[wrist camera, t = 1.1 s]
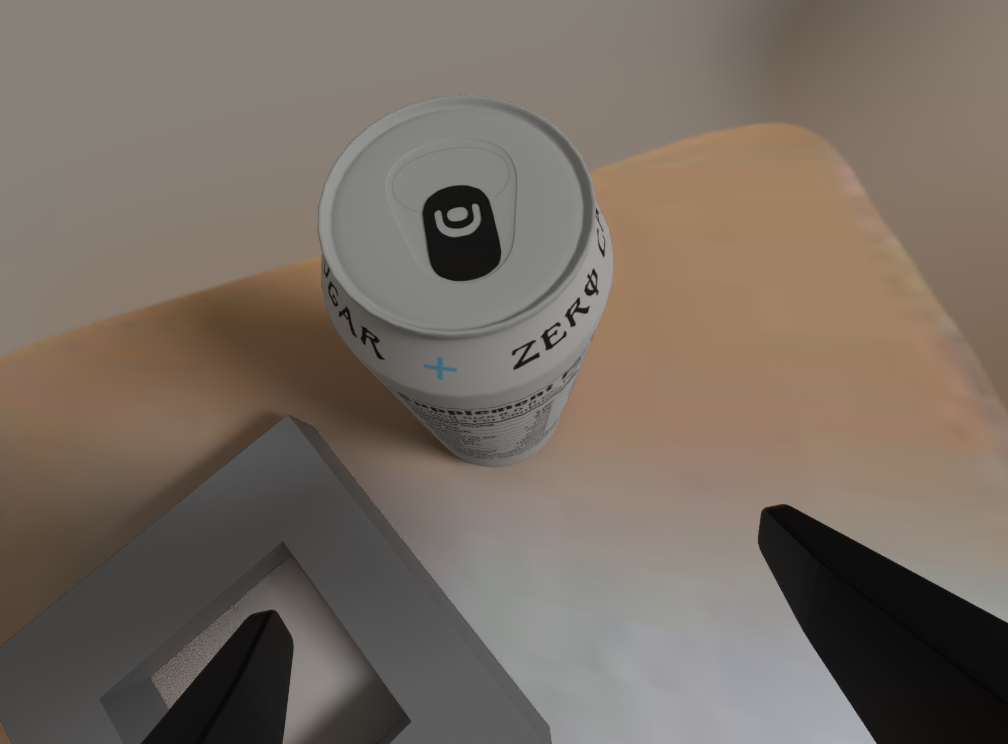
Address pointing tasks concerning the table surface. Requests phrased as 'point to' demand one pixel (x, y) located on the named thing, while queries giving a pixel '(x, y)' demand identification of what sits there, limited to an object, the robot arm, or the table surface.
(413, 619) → the socket block
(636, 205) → the table surface
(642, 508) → the table surface
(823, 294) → the table surface
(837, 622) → the robot arm
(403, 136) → the energy drink can
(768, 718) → the table surface
